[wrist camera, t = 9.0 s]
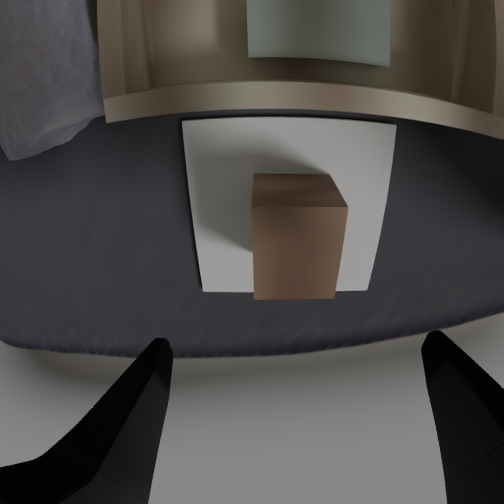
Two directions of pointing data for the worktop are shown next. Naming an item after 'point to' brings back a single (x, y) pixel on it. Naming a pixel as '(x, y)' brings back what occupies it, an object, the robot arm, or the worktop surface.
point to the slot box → (306, 58)
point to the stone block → (47, 73)
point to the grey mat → (282, 162)
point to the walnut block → (296, 235)
